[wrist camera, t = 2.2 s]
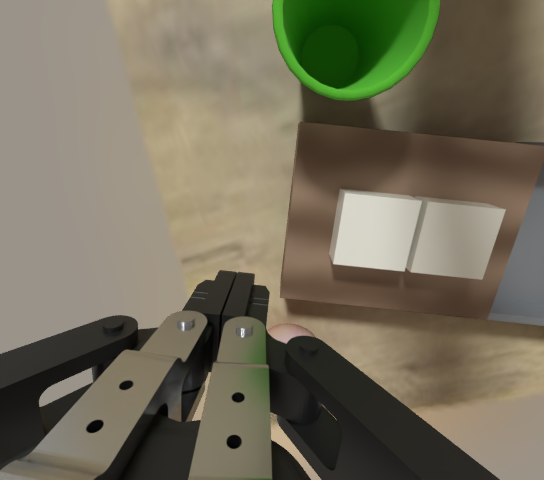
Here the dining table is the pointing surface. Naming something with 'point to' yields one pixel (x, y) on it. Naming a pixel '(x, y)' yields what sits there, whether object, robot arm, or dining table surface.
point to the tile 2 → (454, 237)
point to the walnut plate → (404, 181)
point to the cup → (353, 42)
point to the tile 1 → (373, 229)
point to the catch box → (525, 267)
